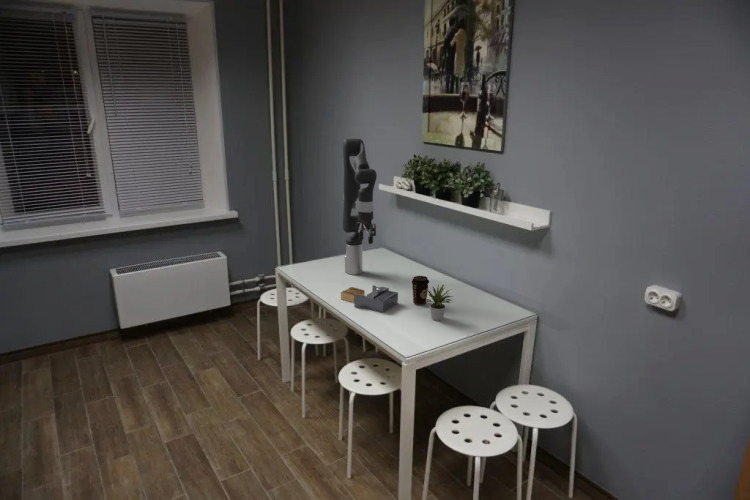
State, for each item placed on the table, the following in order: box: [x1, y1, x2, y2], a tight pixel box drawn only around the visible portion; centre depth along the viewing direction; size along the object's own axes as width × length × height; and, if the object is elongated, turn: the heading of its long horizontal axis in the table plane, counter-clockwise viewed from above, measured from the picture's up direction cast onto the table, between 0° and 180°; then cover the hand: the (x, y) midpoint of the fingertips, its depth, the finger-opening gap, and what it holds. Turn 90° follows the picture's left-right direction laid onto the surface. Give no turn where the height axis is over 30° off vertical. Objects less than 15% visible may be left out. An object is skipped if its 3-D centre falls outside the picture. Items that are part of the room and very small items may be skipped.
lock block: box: [340, 286, 366, 304], centre depth 248 cm, size 8×9×4 cm
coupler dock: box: [353, 284, 399, 313], centre depth 240 cm, size 16×17×9 cm
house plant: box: [424, 283, 453, 322], centre depth 222 cm, size 14×14×16 cm
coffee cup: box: [411, 275, 430, 306], centre depth 241 cm, size 9×8×13 cm
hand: (365, 241), depth 249 cm, fingers open, 8 cm apart
